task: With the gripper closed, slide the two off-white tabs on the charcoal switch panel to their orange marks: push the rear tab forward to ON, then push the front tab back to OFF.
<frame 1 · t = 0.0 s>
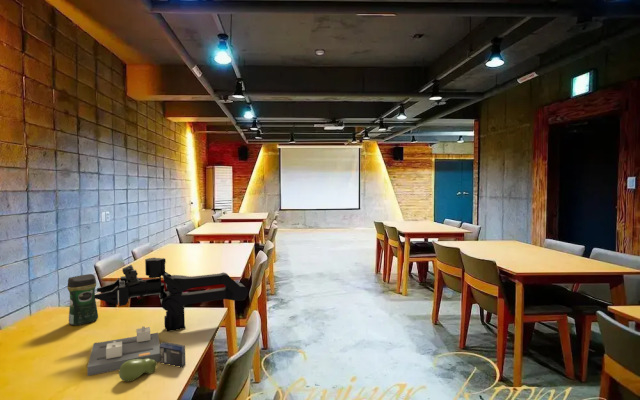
hand: (95, 293, 128), 17 cm above the table, tool horizontal, fingers open, 9 cm apart
tab a: (143, 333, 122), point 5 cm above the table, slide at 0.0 cm
tab b: (114, 348, 111), point 5 cm above the table, slide at 8.0 cm
mini dv tape: (172, 365, 111), on the table
pear: (138, 377, 104), on the table
coffee jar: (83, 322, 147), on the table
switch panel: (126, 355, 116), on the table
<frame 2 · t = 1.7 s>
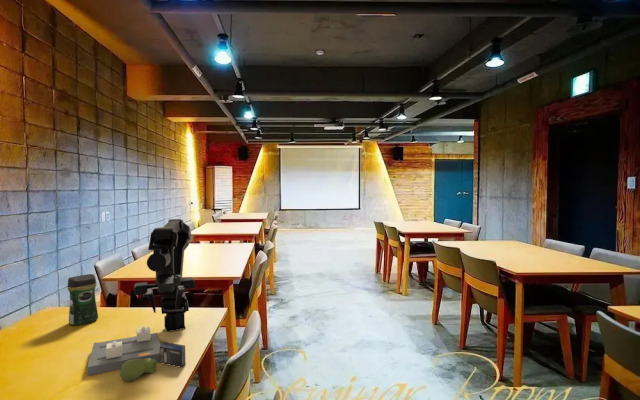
hand: (165, 311, 125), 11 cm above the table, tool pointing down, fingers open, 6 cm apart
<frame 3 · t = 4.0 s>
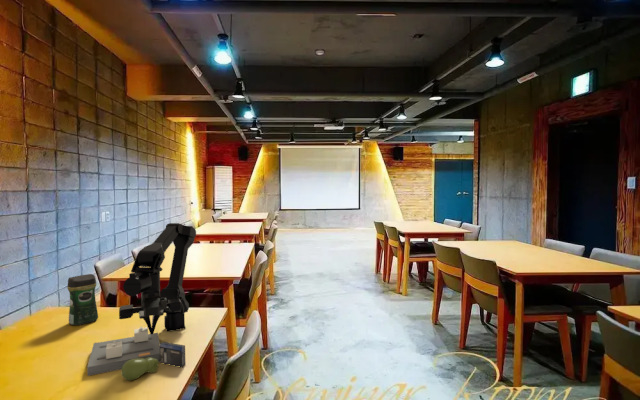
hand: (151, 333, 123), 4 cm above the table, tool pointing down, fingers closed
tab a: (141, 333, 122), point 5 cm above the table, slide at 0.7 cm, touching gripper
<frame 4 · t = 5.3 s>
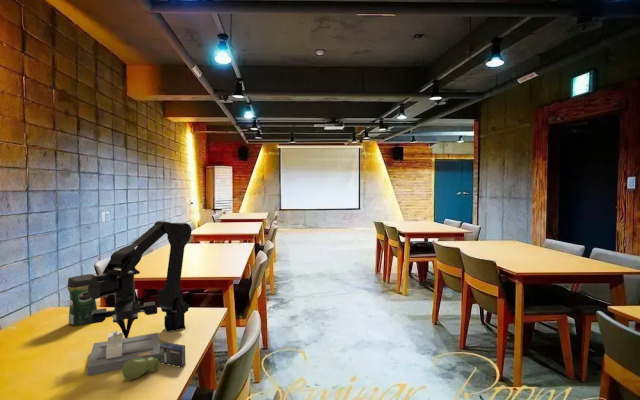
hand: (126, 338, 120), 4 cm above the table, tool pointing down, fingers closed
tab a: (115, 338, 119), point 5 cm above the table, slide at 8.1 cm, touching gripper
everything else where it was.
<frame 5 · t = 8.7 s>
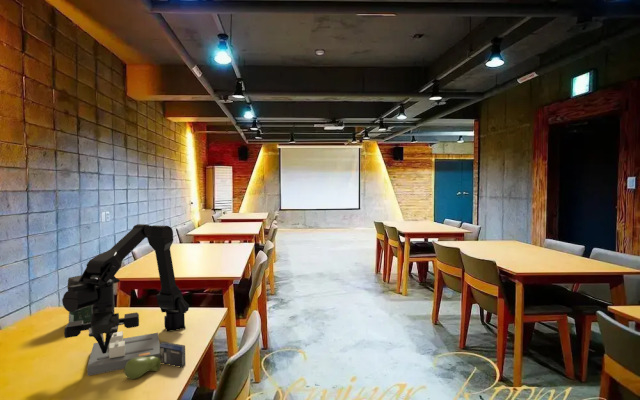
hand: (104, 352, 110), 4 cm above the table, tool pointing down, fingers closed
tab a: (115, 338, 119), point 5 cm above the table, slide at 8.1 cm
tab b: (117, 348, 111), point 5 cm above the table, slide at 7.2 cm, touching gripper
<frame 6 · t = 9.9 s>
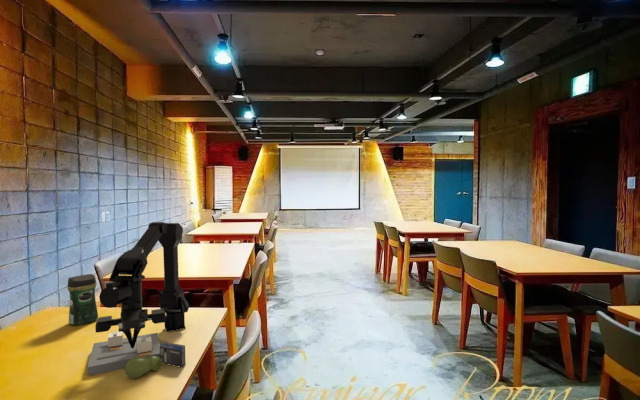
hand: (132, 347, 113), 4 cm above the table, tool pointing down, fingers closed
tab b: (144, 343, 114), point 5 cm above the table, slide at -0.1 cm, touching gripper
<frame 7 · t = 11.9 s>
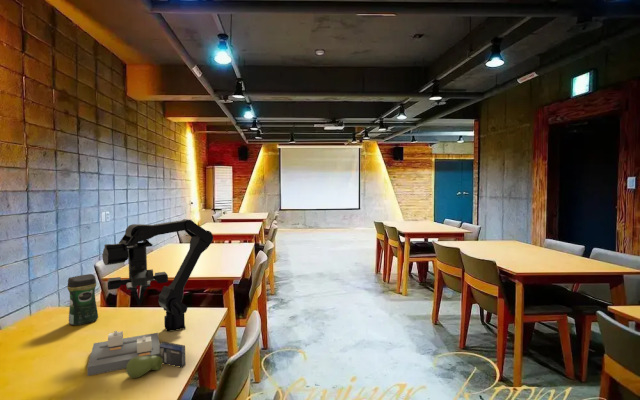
hand: (139, 304, 130), 12 cm above the table, tool pointing down, fingers closed
tab b: (144, 343, 114), point 5 cm above the table, slide at -0.1 cm
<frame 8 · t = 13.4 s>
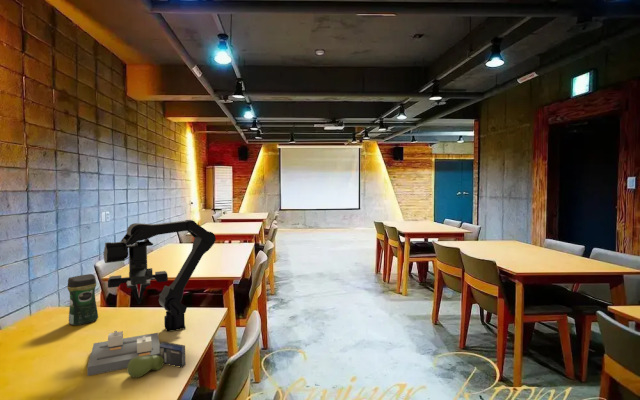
hand: (139, 303, 131), 12 cm above the table, tool pointing down, fingers closed
at the end: tab a slide at 8.1 cm; tab b slide at -0.1 cm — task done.
